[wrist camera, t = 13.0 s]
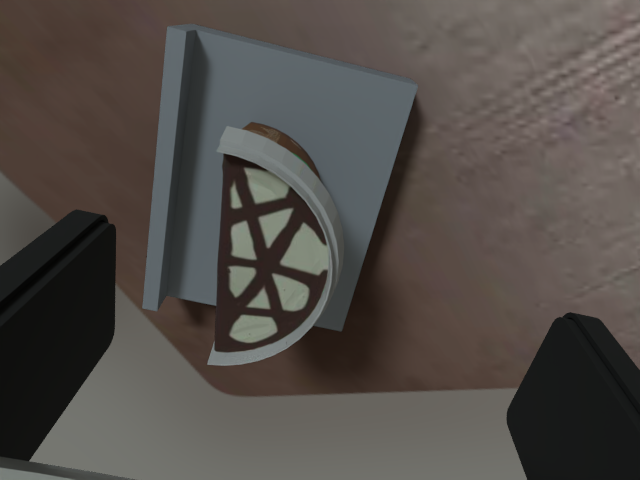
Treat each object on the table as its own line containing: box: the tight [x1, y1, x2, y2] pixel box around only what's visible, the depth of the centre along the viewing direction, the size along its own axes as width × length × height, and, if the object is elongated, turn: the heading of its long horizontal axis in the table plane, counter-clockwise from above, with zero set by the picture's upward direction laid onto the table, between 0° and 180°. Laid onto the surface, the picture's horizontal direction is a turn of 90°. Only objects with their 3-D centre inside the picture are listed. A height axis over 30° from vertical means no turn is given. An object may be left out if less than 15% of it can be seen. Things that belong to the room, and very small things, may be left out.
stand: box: [143, 24, 418, 332], centre depth 32 cm, size 14×18×5 cm
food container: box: [207, 122, 344, 366], centre depth 27 cm, size 12×6×10 cm, turn 172°
